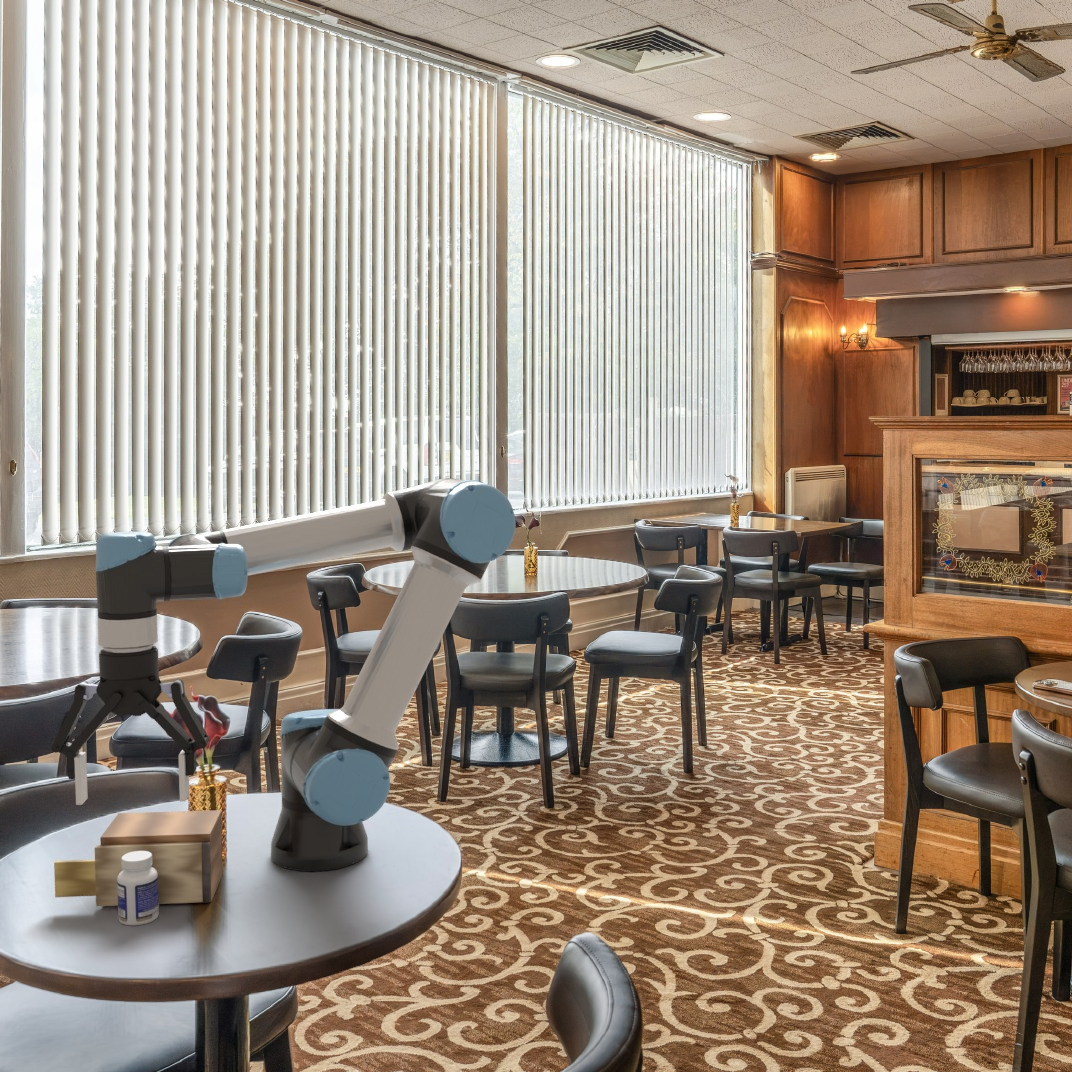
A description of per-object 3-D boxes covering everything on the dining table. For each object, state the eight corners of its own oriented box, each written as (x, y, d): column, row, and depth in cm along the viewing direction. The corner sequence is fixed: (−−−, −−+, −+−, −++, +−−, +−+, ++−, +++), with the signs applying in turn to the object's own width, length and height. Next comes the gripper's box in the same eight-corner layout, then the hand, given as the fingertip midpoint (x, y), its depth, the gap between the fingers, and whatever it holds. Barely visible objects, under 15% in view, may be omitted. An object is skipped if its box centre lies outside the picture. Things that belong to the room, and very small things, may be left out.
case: (222, 874, 170) (221, 810, 169) (211, 901, 160) (209, 833, 159) (120, 878, 168) (118, 813, 167) (102, 906, 158) (100, 837, 157)
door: (211, 898, 160) (210, 841, 159) (210, 902, 159) (209, 844, 158) (57, 904, 157) (55, 846, 157) (54, 908, 156) (52, 849, 155)
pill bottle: (163, 910, 157) (162, 848, 157) (152, 926, 152) (150, 863, 151) (125, 910, 157) (124, 848, 156) (112, 926, 152) (111, 863, 151)
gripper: (227, 640, 156) (231, 788, 158) (41, 643, 154) (47, 793, 156) (218, 650, 149) (222, 806, 151) (22, 654, 146) (29, 812, 148)
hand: (133, 800), depth 153 cm, fingers open, 13 cm apart
